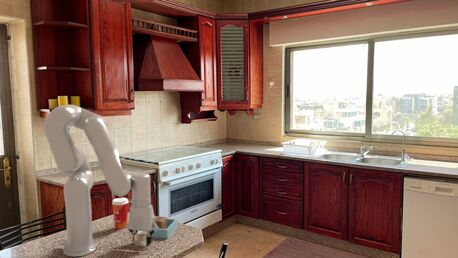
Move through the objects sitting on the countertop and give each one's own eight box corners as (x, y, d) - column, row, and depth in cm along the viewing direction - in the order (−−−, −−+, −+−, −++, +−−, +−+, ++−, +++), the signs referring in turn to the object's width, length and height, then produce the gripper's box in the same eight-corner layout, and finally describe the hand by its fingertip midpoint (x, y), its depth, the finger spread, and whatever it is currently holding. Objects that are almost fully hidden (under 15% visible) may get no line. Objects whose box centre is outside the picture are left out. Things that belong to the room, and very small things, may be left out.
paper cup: (111, 226, 166) (110, 198, 165) (128, 224, 170) (127, 196, 168) (113, 232, 159) (112, 203, 158) (130, 229, 163) (129, 201, 161)
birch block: (134, 246, 144) (134, 235, 144) (139, 241, 149) (139, 230, 149) (145, 247, 143) (145, 236, 143) (150, 242, 148) (150, 231, 148)
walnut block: (150, 233, 157) (149, 220, 156) (155, 228, 162) (154, 216, 162) (162, 234, 156) (162, 221, 155) (167, 229, 161) (167, 217, 161)
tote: (138, 237, 154) (138, 227, 153) (150, 226, 167) (150, 217, 166) (167, 239, 151) (167, 230, 151) (177, 228, 165) (177, 219, 164)
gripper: (118, 204, 142) (119, 246, 144) (157, 206, 139) (158, 249, 141) (127, 199, 150) (128, 239, 151) (163, 201, 147) (164, 241, 148)
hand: (142, 243), depth 146 cm, fingers closed on birch block, 4 cm apart
